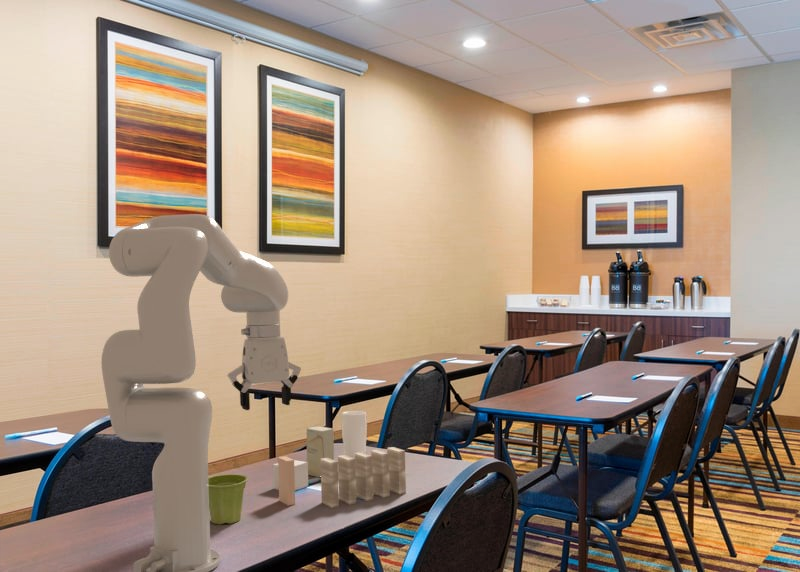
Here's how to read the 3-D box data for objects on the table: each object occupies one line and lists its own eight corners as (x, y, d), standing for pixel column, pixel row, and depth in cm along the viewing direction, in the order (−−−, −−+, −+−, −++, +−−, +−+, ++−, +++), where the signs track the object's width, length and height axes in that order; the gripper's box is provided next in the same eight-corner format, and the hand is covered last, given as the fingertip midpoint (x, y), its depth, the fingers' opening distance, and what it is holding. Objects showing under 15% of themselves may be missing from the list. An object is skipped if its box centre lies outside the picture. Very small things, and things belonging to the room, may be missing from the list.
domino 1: (287, 505, 170) (286, 461, 170) (279, 500, 175) (277, 457, 175) (295, 504, 171) (294, 460, 171) (286, 499, 175) (285, 456, 175)
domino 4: (366, 501, 172) (365, 457, 172) (355, 496, 176) (354, 453, 176) (373, 499, 173) (372, 455, 173) (362, 494, 177) (361, 452, 177)
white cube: (308, 486, 187) (307, 462, 187) (291, 492, 182) (291, 467, 182) (290, 483, 190) (289, 459, 190) (273, 489, 185) (272, 464, 185)
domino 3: (349, 504, 170) (348, 459, 170) (339, 499, 174) (337, 455, 174) (356, 503, 171) (355, 458, 171) (346, 498, 175) (344, 454, 175)
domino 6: (399, 494, 177) (398, 451, 177) (388, 489, 181) (387, 447, 181) (405, 493, 178) (404, 450, 178) (394, 488, 182) (393, 446, 182)
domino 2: (331, 508, 168) (330, 462, 167) (321, 502, 172) (320, 458, 172) (338, 506, 168) (337, 461, 168) (328, 501, 173) (327, 457, 173)
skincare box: (306, 474, 198) (305, 428, 198) (318, 471, 201) (317, 425, 201) (322, 478, 194) (321, 430, 194) (335, 474, 197) (334, 428, 197)
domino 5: (383, 497, 174) (381, 454, 174) (372, 492, 179) (371, 450, 179) (389, 496, 175) (388, 453, 175) (378, 491, 180) (377, 449, 180)
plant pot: (258, 517, 162) (257, 476, 162) (227, 530, 154) (225, 487, 154) (225, 511, 167) (224, 472, 167) (193, 523, 159) (192, 482, 159)
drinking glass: (340, 467, 205) (338, 411, 205) (364, 464, 207) (362, 409, 207) (345, 472, 199) (344, 415, 199) (370, 470, 201) (369, 413, 201)
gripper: (232, 336, 166) (235, 413, 167) (305, 330, 175) (307, 404, 176) (221, 334, 173) (224, 409, 173) (292, 329, 182) (294, 400, 182)
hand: (266, 406), depth 174 cm, fingers open, 9 cm apart
